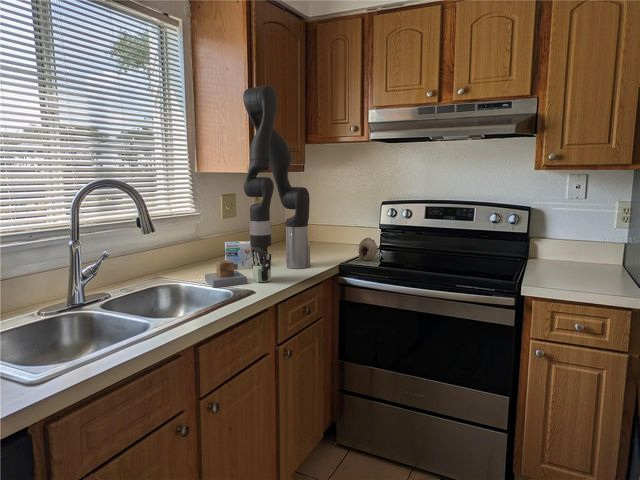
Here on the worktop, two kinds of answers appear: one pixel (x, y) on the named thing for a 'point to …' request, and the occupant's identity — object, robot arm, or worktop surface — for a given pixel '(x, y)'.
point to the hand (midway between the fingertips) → (262, 278)
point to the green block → (258, 276)
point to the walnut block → (225, 268)
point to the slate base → (225, 279)
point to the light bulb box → (239, 254)
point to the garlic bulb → (367, 249)
